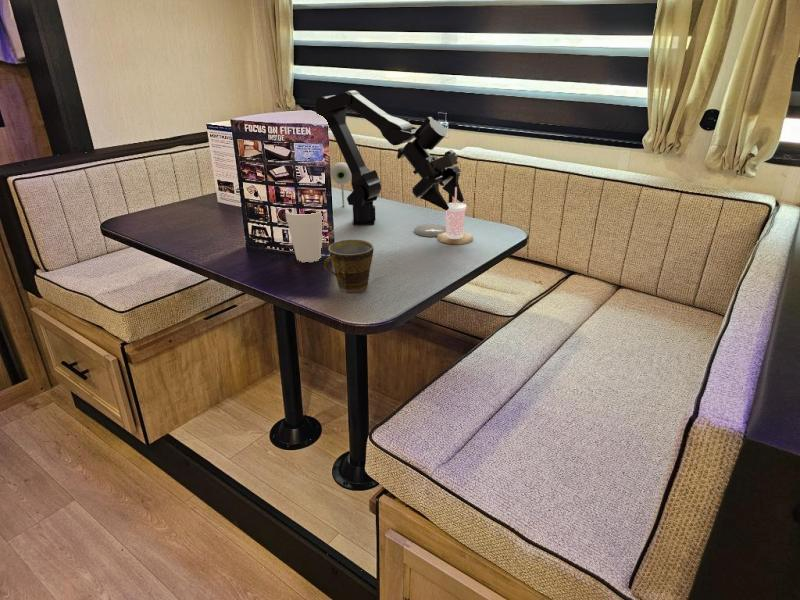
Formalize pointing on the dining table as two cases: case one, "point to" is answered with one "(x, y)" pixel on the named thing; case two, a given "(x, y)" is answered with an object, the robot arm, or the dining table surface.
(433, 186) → the robot arm
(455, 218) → the beverage cup
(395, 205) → the dining table surface
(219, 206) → the dining table surface
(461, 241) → the shiny gold rounded object
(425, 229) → the grey dome cap
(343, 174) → the lollipop
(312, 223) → the foam cup
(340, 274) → the ceramic cup
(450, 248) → the dining table surface
